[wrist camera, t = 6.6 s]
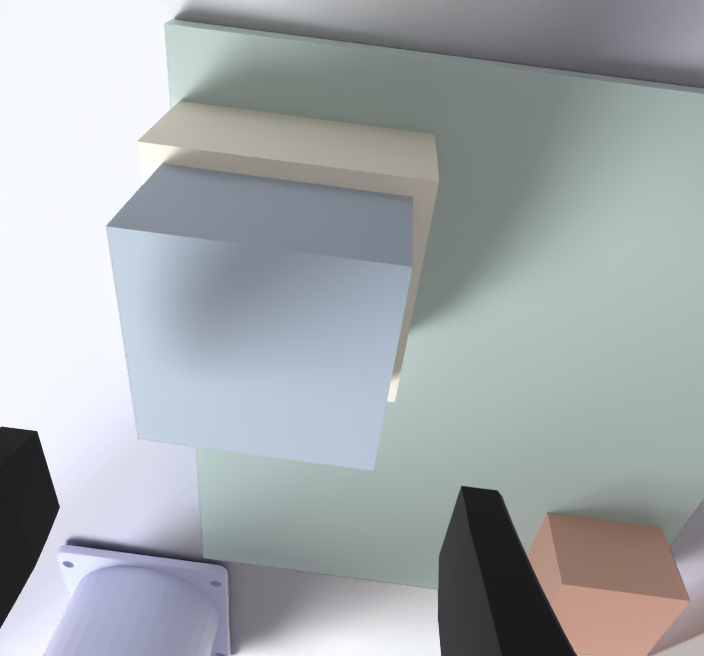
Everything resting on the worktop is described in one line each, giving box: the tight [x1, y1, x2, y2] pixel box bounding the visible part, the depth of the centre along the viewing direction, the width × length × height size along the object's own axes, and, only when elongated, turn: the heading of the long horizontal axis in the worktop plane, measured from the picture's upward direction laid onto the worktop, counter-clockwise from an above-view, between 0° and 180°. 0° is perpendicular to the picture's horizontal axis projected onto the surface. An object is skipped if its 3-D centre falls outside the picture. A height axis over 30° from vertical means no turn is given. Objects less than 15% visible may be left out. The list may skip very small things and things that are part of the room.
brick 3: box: [527, 513, 690, 656], centre depth 24 cm, size 4×4×3 cm
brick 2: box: [106, 164, 413, 471], centre depth 14 cm, size 6×6×3 cm
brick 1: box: [137, 101, 439, 402], centre depth 16 cm, size 6×6×3 cm
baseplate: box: [164, 19, 704, 589], centre depth 21 cm, size 22×19×1 cm
